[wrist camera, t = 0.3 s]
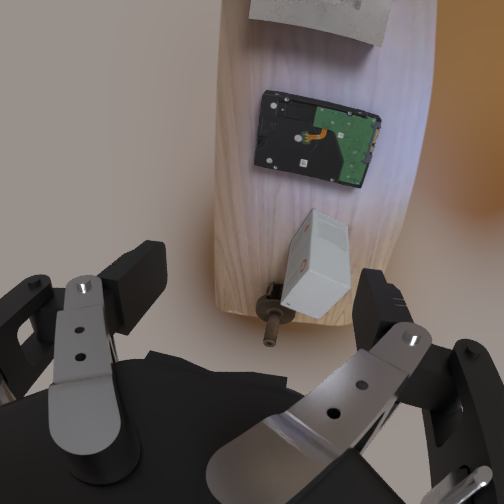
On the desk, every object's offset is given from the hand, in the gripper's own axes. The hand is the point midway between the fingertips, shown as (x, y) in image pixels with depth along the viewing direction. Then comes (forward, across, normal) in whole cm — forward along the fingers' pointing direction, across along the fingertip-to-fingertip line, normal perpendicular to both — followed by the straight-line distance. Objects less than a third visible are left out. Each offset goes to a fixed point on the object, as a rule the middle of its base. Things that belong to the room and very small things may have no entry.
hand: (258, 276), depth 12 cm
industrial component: (+41, +1, +24) cm, 47 cm away
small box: (+36, -5, +11) cm, 38 cm away
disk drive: (+31, -2, -5) cm, 32 cm away
